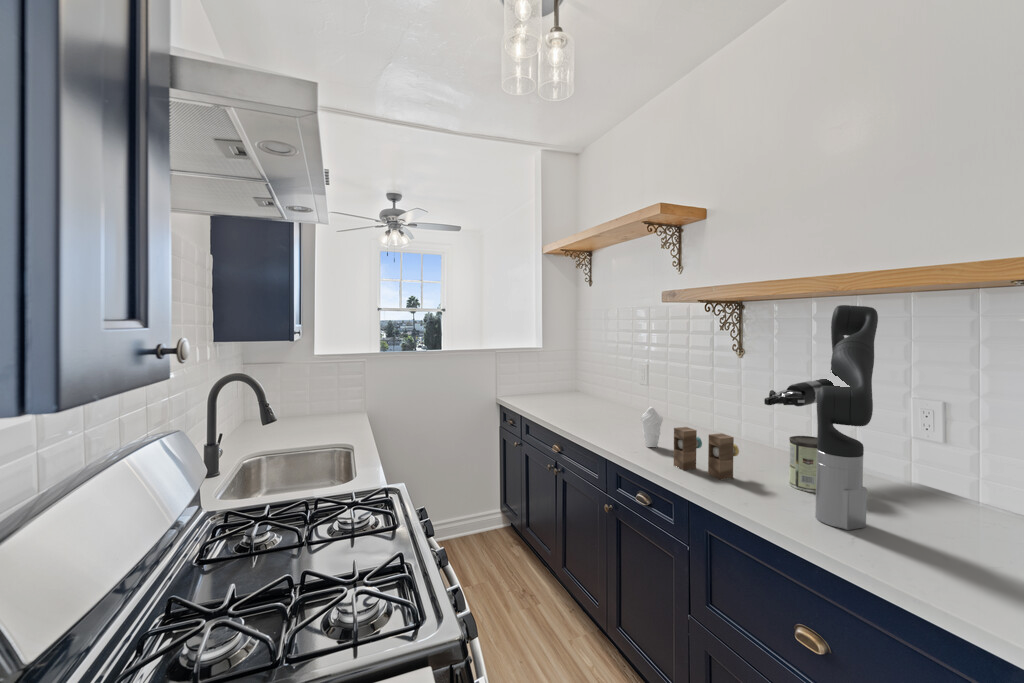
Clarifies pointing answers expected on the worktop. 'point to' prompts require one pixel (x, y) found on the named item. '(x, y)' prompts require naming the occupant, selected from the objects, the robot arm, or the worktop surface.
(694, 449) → the walnut box
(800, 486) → the coffee can
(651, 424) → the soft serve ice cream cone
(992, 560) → the worktop surface
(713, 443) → the walnut box
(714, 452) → the ochre button
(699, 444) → the teal button
